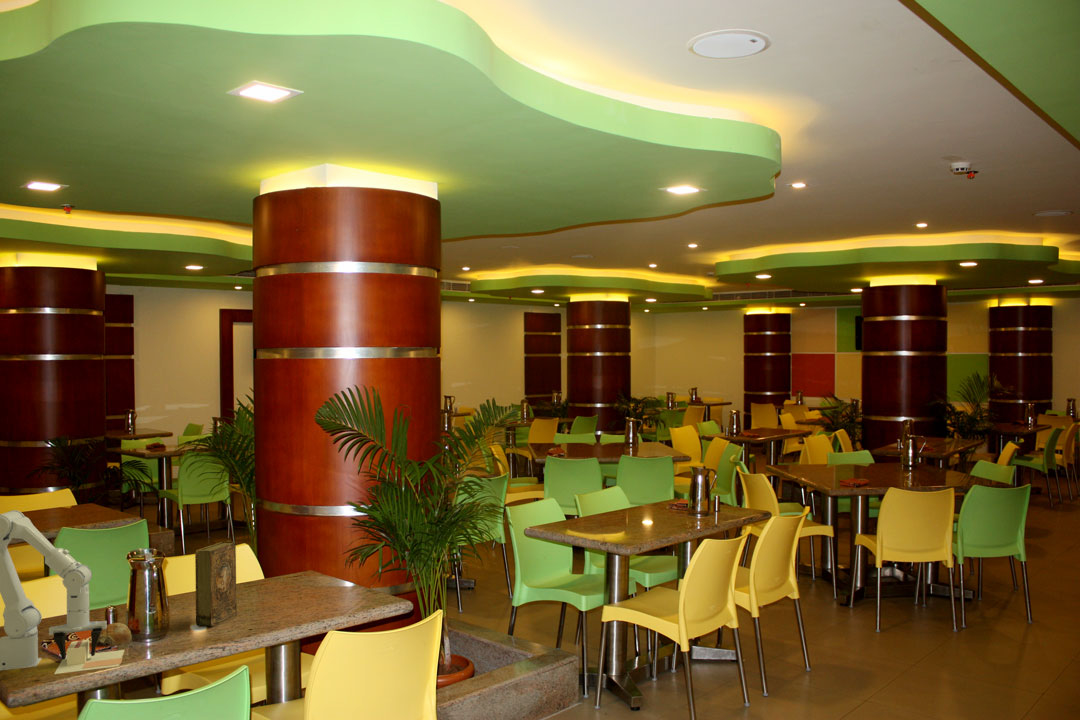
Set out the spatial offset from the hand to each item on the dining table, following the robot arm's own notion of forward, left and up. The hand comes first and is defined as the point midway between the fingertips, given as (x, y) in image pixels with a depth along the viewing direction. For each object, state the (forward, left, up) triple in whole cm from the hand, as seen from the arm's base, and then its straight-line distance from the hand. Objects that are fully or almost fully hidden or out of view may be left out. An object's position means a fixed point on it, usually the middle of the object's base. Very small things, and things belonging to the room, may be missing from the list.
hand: (78, 656), depth 246 cm
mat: (+3, -2, -2) cm, 5 cm away
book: (+37, +30, -2) cm, 48 cm away
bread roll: (+7, +16, -2) cm, 18 cm away
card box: (0, 0, -1) cm, 1 cm away
